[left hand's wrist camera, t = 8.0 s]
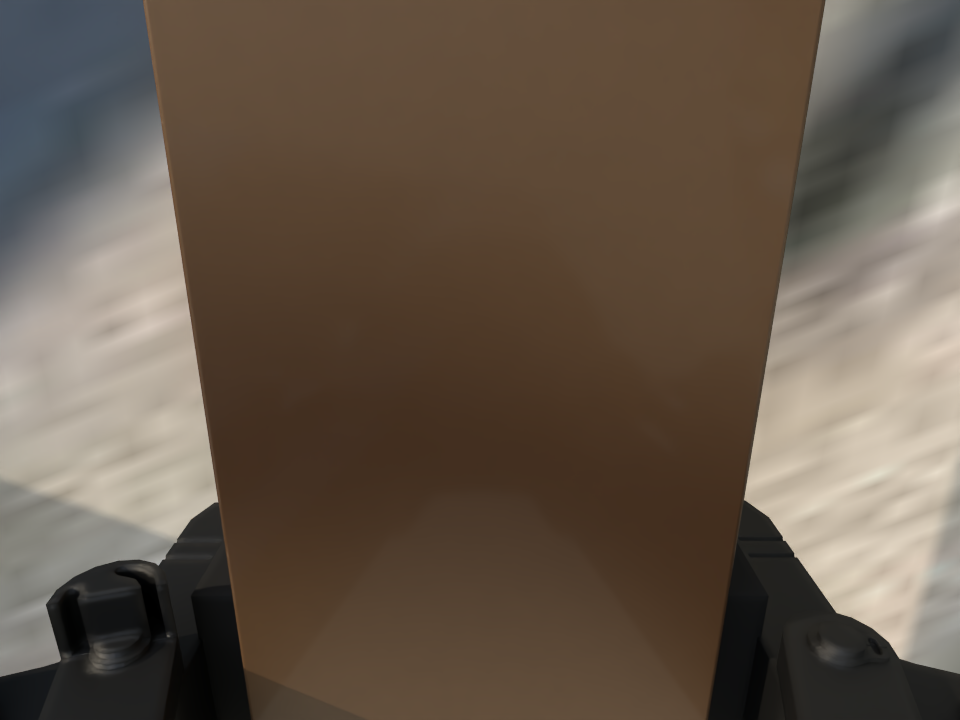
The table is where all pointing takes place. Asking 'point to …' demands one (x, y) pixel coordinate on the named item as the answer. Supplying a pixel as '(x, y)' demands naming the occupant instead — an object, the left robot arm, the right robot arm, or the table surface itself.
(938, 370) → the table surface
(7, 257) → the table surface
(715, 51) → the bar
